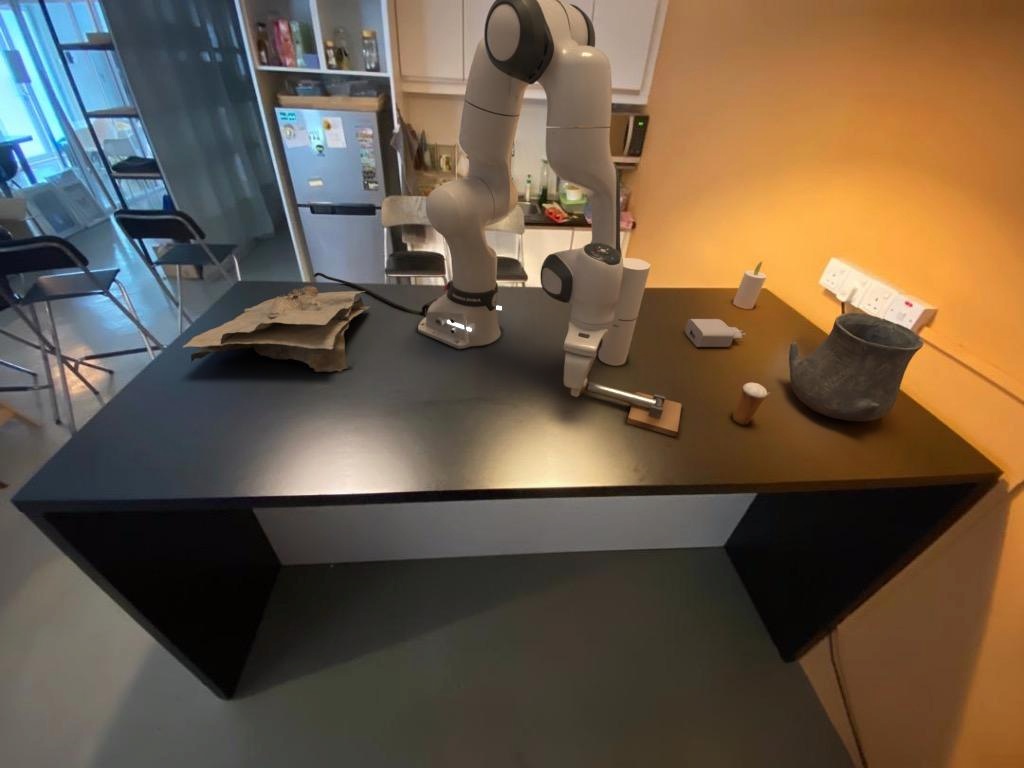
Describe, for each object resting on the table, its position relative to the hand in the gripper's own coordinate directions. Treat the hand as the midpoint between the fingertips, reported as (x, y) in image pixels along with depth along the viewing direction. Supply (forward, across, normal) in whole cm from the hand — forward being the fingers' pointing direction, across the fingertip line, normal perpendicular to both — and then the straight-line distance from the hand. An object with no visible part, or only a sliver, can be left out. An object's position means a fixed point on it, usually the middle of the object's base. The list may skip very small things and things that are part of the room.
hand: (580, 382), depth 94 cm
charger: (+4, -41, +29) cm, 51 cm away
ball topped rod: (+3, 0, +7) cm, 8 cm away
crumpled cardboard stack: (+2, +10, -71) cm, 72 cm away
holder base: (+3, 0, +17) cm, 17 cm away
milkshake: (+4, -6, +35) cm, 36 cm away
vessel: (+4, -22, +55) cm, 59 cm away
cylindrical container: (+3, -19, +4) cm, 19 cm away
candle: (+4, -71, +38) cm, 81 cm away
